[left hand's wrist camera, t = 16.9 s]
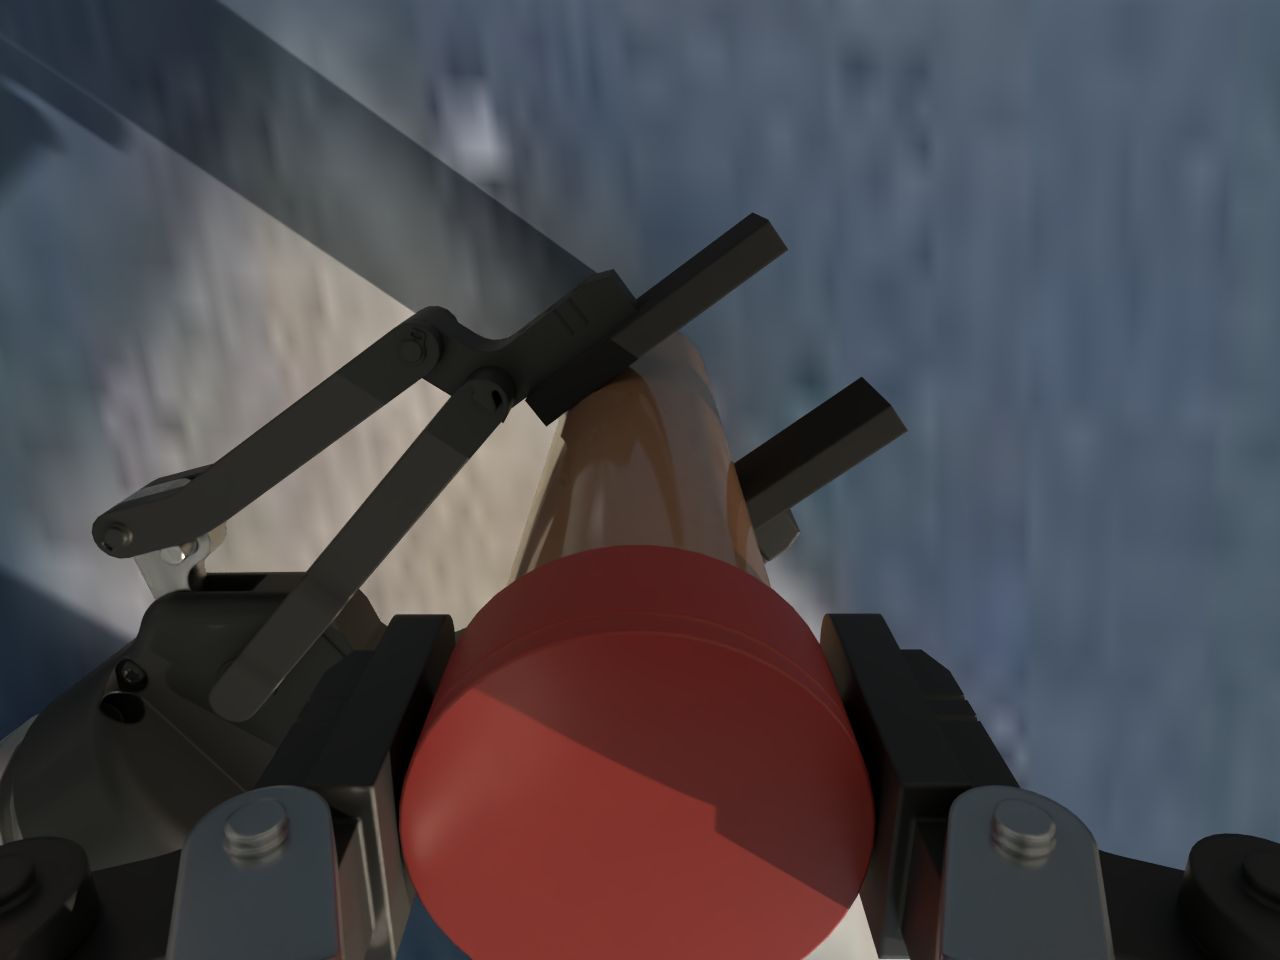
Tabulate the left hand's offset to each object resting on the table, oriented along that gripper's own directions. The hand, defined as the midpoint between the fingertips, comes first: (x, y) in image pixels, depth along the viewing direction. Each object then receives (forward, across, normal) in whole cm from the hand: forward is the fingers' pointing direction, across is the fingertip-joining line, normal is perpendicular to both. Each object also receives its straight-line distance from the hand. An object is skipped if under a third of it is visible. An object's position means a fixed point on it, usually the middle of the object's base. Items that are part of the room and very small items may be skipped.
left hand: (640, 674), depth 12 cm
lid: (-3, 0, 0) cm, 3 cm away
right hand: (+10, +4, +3) cm, 11 cm away
